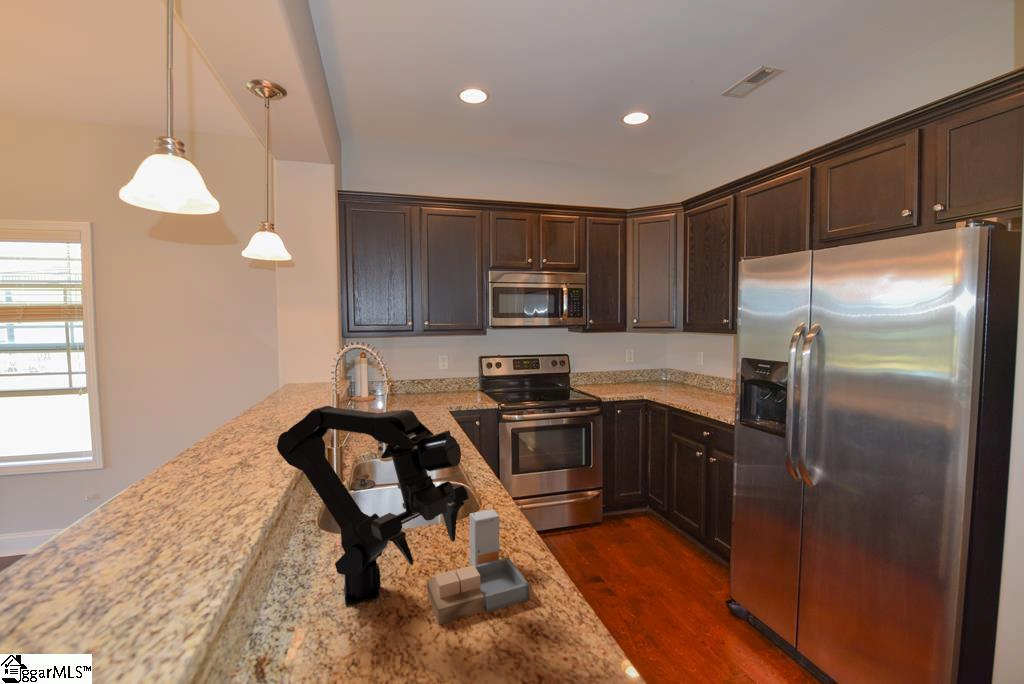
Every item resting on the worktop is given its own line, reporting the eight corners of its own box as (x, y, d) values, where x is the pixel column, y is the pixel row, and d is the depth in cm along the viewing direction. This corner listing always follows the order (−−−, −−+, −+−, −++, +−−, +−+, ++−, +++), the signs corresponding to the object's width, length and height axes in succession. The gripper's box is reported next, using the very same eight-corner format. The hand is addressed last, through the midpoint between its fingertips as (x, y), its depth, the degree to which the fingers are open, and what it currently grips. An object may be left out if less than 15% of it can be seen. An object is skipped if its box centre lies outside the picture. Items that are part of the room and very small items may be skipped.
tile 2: (461, 592, 85) (460, 580, 85) (455, 581, 89) (455, 569, 89) (480, 587, 87) (480, 575, 86) (474, 576, 90) (473, 565, 90)
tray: (486, 612, 84) (486, 596, 83) (469, 581, 94) (469, 566, 93) (529, 599, 87) (529, 584, 87) (508, 571, 97) (508, 557, 97)
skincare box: (475, 573, 97) (474, 520, 96) (469, 563, 101) (468, 513, 100) (500, 566, 99) (499, 515, 98) (493, 557, 103) (493, 508, 102)
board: (438, 625, 80) (438, 609, 80) (427, 593, 89) (426, 579, 89) (484, 611, 84) (484, 596, 84) (468, 582, 93) (468, 569, 93)
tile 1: (439, 598, 83) (439, 585, 83) (434, 586, 87) (434, 574, 87) (459, 593, 85) (459, 580, 85) (454, 581, 89) (453, 570, 88)
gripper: (381, 498, 73) (404, 589, 72) (472, 459, 84) (493, 537, 84) (361, 492, 82) (382, 573, 81) (446, 457, 93) (465, 528, 93)
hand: (433, 552), depth 84 cm, fingers open, 9 cm apart
